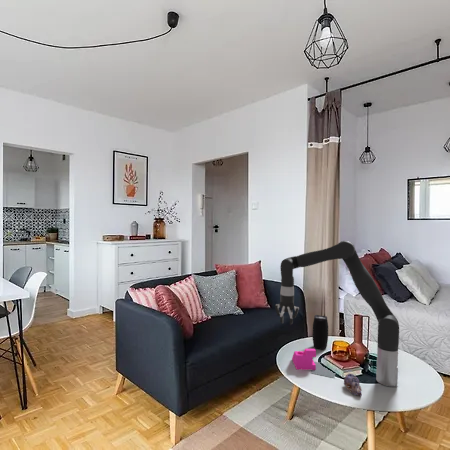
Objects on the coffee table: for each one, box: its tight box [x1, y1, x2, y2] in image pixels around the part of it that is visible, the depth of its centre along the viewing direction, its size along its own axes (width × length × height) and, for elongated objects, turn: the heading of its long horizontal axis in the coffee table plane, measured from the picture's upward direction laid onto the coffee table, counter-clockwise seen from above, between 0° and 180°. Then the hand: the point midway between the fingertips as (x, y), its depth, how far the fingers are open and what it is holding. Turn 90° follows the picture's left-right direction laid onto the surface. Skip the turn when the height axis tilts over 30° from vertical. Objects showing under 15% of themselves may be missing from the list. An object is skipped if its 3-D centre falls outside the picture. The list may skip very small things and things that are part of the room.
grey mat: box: [310, 361, 336, 379], centre depth 171 cm, size 12×14×1 cm
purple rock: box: [343, 373, 363, 397], centre depth 151 cm, size 12×8×6 cm, turn 172°
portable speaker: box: [312, 314, 329, 351], centre depth 199 cm, size 9×9×20 cm
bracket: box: [291, 348, 317, 371], centre depth 176 cm, size 12×10×10 cm
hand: (286, 323), depth 179 cm, fingers open, 4 cm apart
